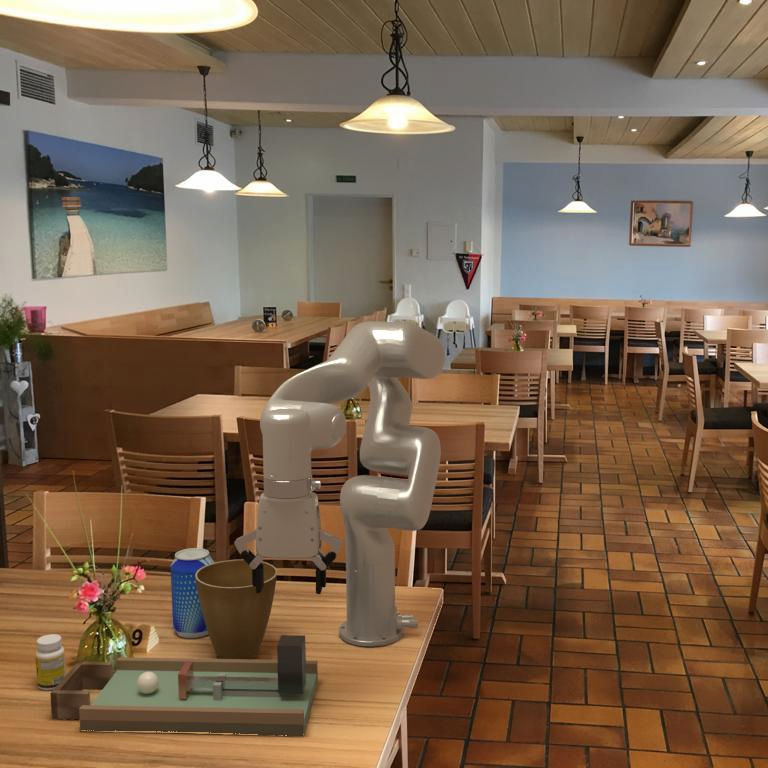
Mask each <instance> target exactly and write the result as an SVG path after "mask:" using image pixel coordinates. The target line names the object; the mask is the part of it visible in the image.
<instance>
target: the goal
mask: <svg viewBox="0 0 768 768" xmlns="http://www.w3.org/2000/svg"><path fill="white" fill-rule="evenodd" d="M113 670H114V669H113V661H77V662H76V663H75V664H74V665H73V666H72V667H71V669H70V670H69V671H68V673H66V676H65V677H64V678H63V679H62V681H61V682H60V683H59V684H58V685H57V686H56V687H55V689H54V690H51V692H50V711H51V720H52V719H79V720H78V721H80V717H79V708H80V707H81V706H82V705H91V691H90V690H101V691H102V690H103V688H104V687H105V686H106V684H107V683H108V682H109V681H110V679H111V678H112V677H113V675H114V671H113Z"/></svg>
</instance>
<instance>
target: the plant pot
mask: <svg viewBox="0 0 768 768" xmlns="http://www.w3.org/2000/svg"><path fill="white" fill-rule="evenodd" d="M261 563H262V565H263V568H264V587H263V589H262V591H261V592H260V593H256V586H253V585H252V569H251V568H250V566H249V564H248V563H247V562H245V561H244V560H243V559H230V560H229V559H228V560H222V561H217V562H214V563H212V564H209V565H206V566H204V567H202V568H200V569H199V570H198V571H197V572H196V574H195V578H196V585H197V591H198V596H199V601H200V605H201V609H202V613H203V617H204V621H205V624H206V627H207V630H208V633H209V634H208V636H209V638H210V641H211V643H212V646H213V649H214V651H215V653H216V655H217V657H218V658H217V659H249V660H254V659H255V658H256V656H257V655H258V654H259V651H260V648H261V646H262V642H263V640H264V636H265V633H266V630H267V628H268V624H269V621H270V620H269V619H270V616H271V613H272V608H273V602H274V598H275V597H274V596H275V590H276V584H277V578H278V570H277V568H276V567H275V566H274V565H273V564H270V563H269V562H266V561H262V562H261Z"/></svg>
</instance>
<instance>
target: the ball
mask: <svg viewBox="0 0 768 768" xmlns="http://www.w3.org/2000/svg"><path fill="white" fill-rule="evenodd" d="M158 685H159V679H158V676H157V675H156V674H155V673H153V672H144V673H143V674H141V675H140V676H139V678H138V680H137V687H138V689H139V691H140V692H142V693H144V694H150V693H152V692H154V691H155V690H156V689H157V687H158Z"/></svg>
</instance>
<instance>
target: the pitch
mask: <svg viewBox="0 0 768 768" xmlns="http://www.w3.org/2000/svg"><path fill="white" fill-rule="evenodd" d="M186 661H193V672H194V676H214V677H268V678H278V666H277V659H251V660H249V659H219V658H191V657H190V658H187V657H186V658H185V657H177V658H175V657H174V658H173V657H128V656H125V657H124V656H121V657H120V656H119V657H118V658H117V660H116V666H117V667H116V671H115V672H114V673H113V677H112V678H111V679H110V681H109V682H108V683H107V684H106V686H105V687H104V688H103V690H102V689H101V691H100V693H99V694H98V695H97V696H96V698H95V699H94V700H93V702H91V703H90V705H82V706H81V707H80V708H79V717H80V720H79V728H80V729H79V731H80V730H86V731H87V730H88V731H89V730H90V731H91V730H92V731H93V730H94V731H115V730H116V731H156V732H157V731H161V732H162V731H163V732H168V731H170V732H171V731H172V732H173V731H174V732H176V731H177V732H209V733H210V732H211V733H233V734H235V733H236V734H239V733H240V734H258V735H275V736H274V737H279V736H278V735H283V736H282V737H295V736H303V737H304V735H303V734H305V732H304V731H306V728H305V727H307V724H308V721H309V716H310V713H311V712H310V711H311V709H312V704H313V701H314V696H315V693H316V689H317V685H318V682H319V675H318V671H319V670H318V660H306V685H305V688H304V692H303V694H278V690H261V689H222V682H214V684H213V689H209V688H192V689H191V691H190V693H189V695H188V697H187V698H186V699H179V689H178V673H179V672H180V670H181V668H182V667H183V665H184V663H185V662H186ZM144 672H153V673H155V674H156V675H157V676H158V679H159V685H158V687H157V689H156V690H155V691H154V692H152V693H150V694H144V693H142V692H140V691H139V689H138V687H137V680H138V678H139V676H140V675H141V674H143V673H144ZM285 735H287V736H285Z"/></svg>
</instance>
